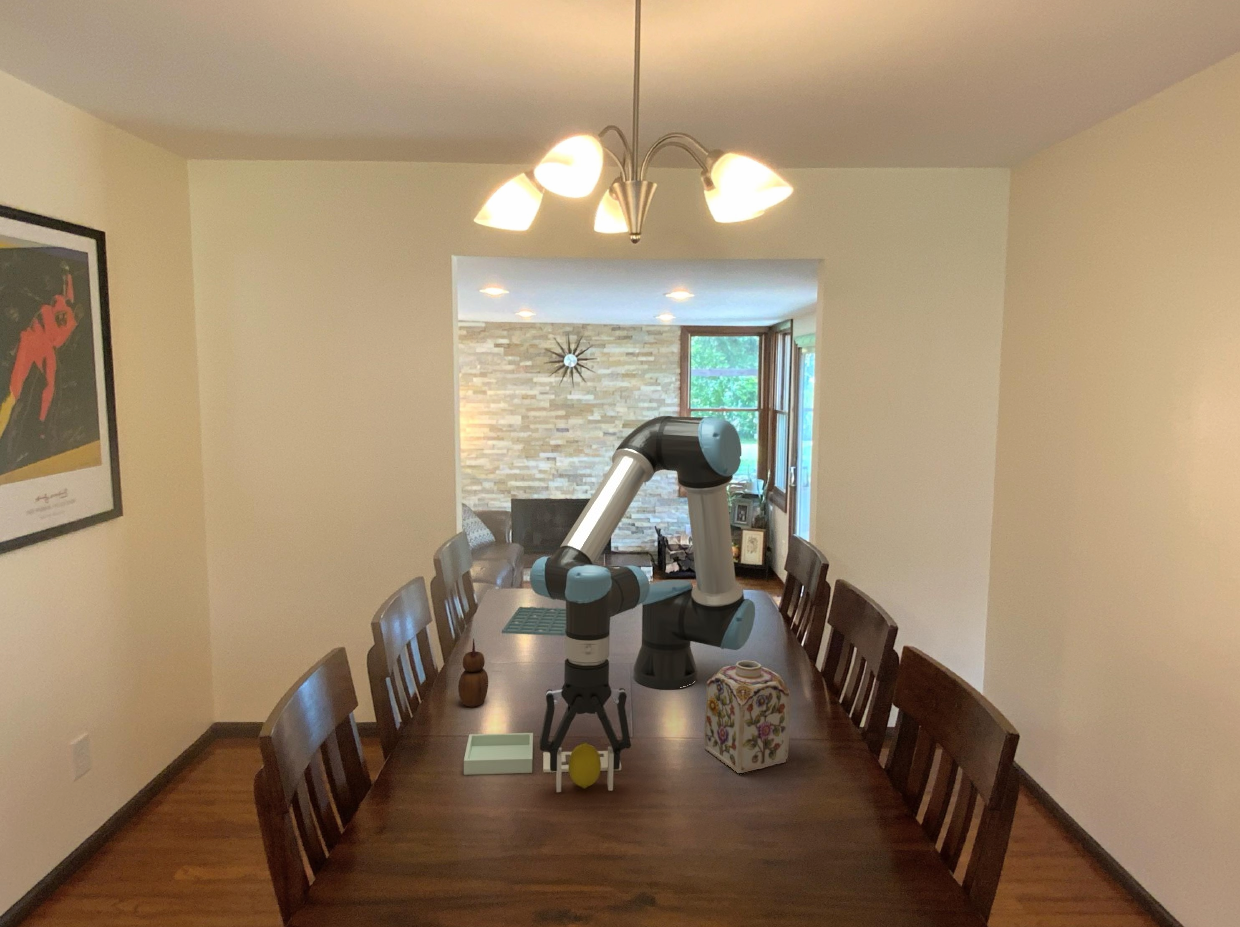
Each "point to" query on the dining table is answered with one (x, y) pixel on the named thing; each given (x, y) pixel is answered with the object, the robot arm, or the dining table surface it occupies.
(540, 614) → the calendar
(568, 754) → the tile
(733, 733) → the decorative jar
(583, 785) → the lemon
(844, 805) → the dining table surface
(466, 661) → the wooden figurine
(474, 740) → the dish
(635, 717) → the dining table surface
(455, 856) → the dining table surface
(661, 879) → the dining table surface
